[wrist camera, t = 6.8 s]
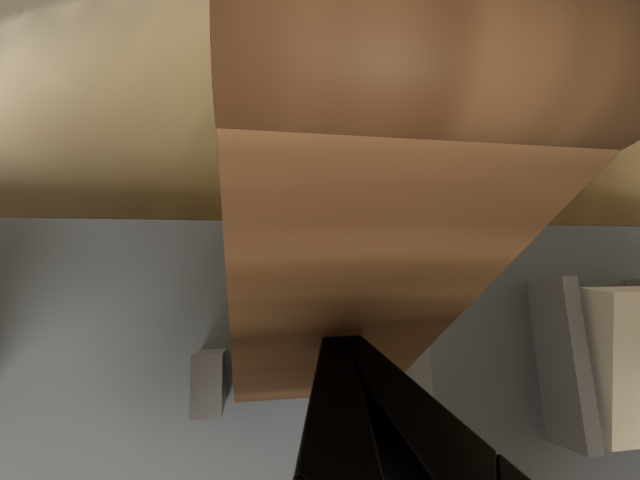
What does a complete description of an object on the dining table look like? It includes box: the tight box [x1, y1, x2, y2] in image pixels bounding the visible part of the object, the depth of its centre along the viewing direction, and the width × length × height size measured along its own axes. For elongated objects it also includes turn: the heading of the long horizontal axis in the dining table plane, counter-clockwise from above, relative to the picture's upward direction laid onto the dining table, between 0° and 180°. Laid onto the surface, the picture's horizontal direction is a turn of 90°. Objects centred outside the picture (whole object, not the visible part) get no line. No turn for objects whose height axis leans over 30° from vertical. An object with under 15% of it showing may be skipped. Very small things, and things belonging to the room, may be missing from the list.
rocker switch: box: [579, 286, 640, 452], centre depth 14 cm, size 5×3×1 cm, turn 1°
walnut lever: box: [210, 0, 640, 402], centre depth 8 cm, size 2×4×12 cm, turn 92°
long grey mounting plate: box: [0, 217, 640, 480], centre depth 14 cm, size 10×36×5 cm, turn 91°
